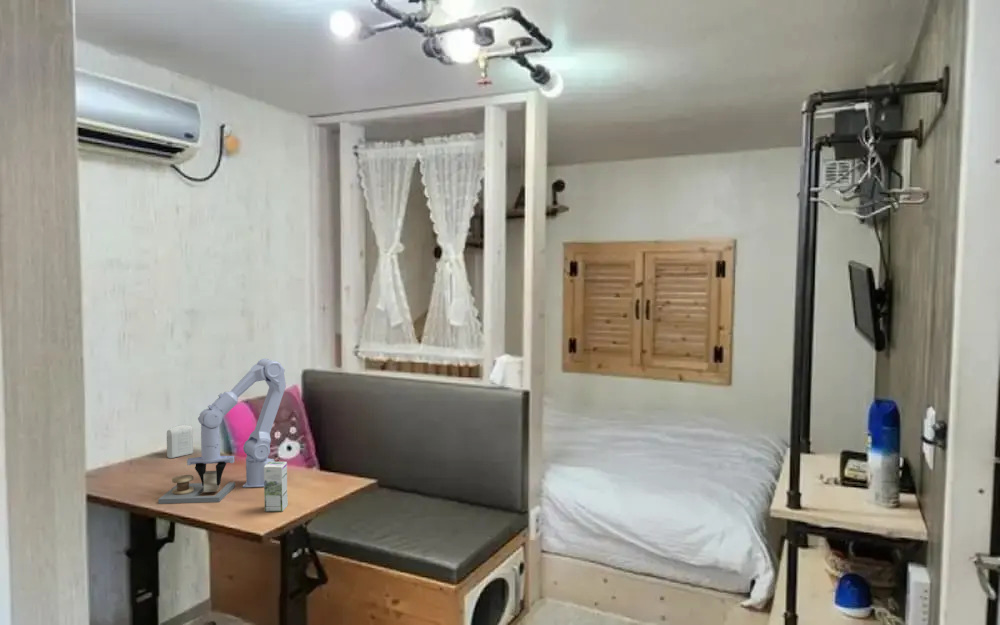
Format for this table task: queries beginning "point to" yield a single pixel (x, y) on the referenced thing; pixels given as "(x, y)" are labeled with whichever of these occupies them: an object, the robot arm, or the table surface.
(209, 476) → the block
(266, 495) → the syrup box
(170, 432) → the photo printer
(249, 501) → the table surface
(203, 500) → the notched board
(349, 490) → the table surface
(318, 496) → the table surface
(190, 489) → the spool
